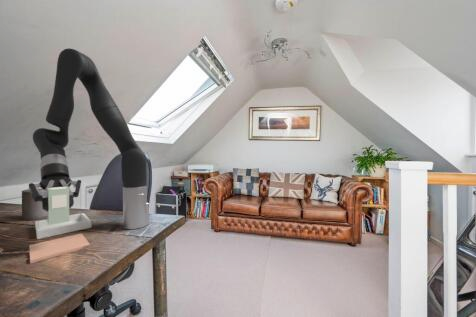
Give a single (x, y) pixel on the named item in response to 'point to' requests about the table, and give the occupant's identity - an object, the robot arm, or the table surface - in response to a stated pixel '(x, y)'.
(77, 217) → the grey bin
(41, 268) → the table surface
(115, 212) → the table surface
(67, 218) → the sage box
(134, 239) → the table surface
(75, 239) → the terracotta tile
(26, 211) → the pillar candle
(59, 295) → the table surface
